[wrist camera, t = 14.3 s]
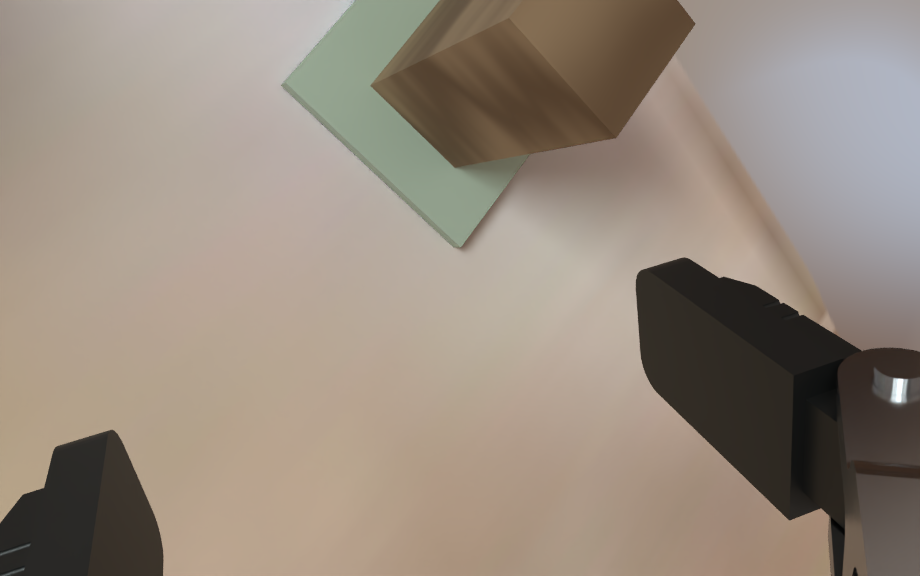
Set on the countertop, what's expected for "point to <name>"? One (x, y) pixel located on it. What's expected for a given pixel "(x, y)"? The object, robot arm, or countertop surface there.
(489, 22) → the walnut block
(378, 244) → the countertop surface
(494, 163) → the coaster
